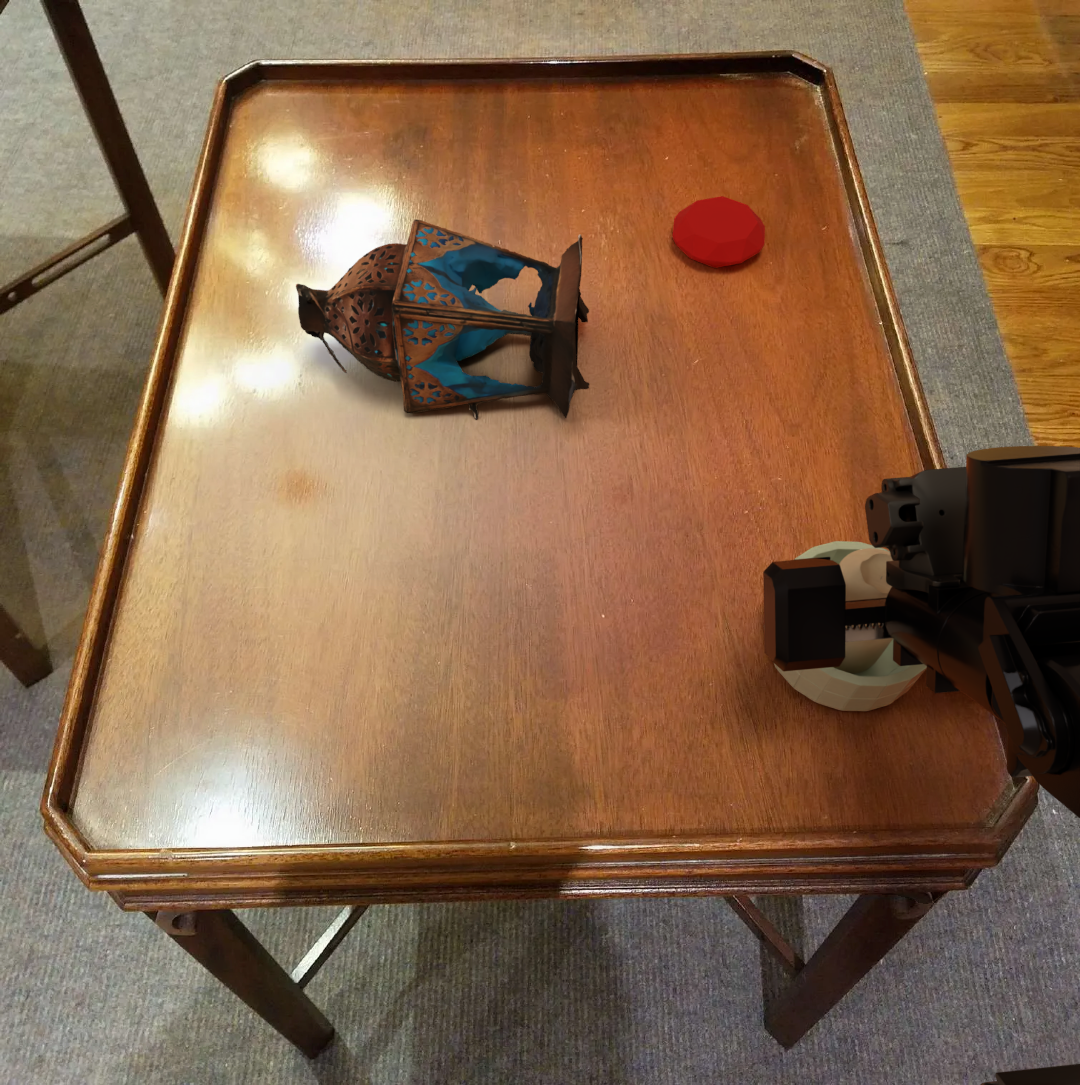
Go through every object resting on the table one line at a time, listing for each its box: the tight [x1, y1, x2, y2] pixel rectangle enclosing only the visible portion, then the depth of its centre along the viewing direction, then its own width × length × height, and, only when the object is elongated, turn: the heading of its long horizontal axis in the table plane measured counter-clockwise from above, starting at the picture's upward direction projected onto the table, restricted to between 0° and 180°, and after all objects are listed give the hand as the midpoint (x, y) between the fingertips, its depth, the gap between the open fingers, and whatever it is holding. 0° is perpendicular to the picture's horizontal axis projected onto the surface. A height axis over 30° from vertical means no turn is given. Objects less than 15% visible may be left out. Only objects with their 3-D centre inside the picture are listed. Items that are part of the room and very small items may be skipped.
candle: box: [834, 548, 893, 674], centre depth 63 cm, size 6×6×10 cm
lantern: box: [295, 218, 590, 420], centre depth 78 cm, size 16×16×25 cm
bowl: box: [773, 540, 927, 712], centre depth 66 cm, size 11×11×5 cm
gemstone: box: [671, 195, 766, 269], centre depth 90 cm, size 9×9×3 cm
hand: (867, 569), depth 62 cm, fingers open, 9 cm apart
